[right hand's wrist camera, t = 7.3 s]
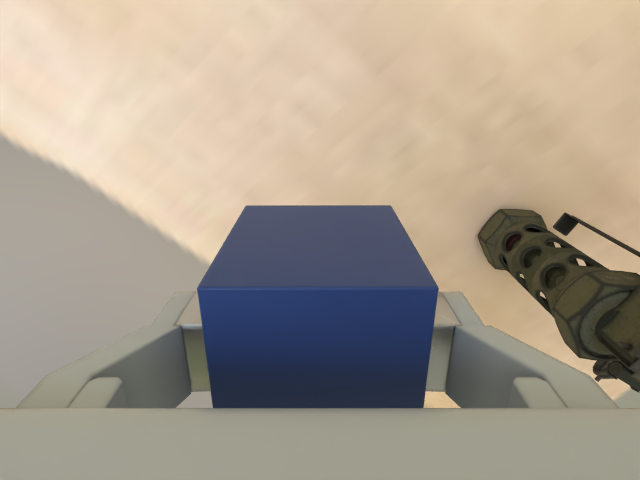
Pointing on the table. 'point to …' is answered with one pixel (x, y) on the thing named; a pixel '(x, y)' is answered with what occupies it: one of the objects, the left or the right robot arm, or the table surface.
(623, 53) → the table surface
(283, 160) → the table surface
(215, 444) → the right robot arm
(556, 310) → the grenade
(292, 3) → the table surface
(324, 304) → the brick
